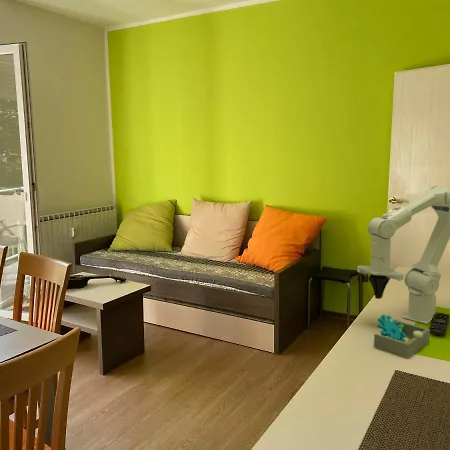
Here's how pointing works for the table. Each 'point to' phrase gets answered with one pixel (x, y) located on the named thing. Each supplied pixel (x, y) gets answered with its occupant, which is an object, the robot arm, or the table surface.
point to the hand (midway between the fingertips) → (378, 297)
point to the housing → (402, 348)
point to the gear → (391, 328)
